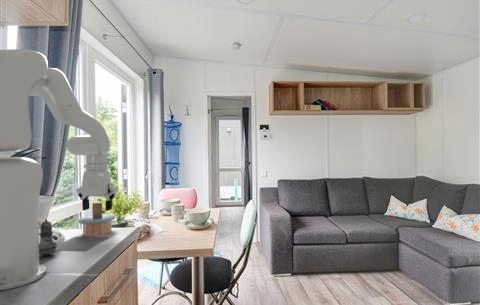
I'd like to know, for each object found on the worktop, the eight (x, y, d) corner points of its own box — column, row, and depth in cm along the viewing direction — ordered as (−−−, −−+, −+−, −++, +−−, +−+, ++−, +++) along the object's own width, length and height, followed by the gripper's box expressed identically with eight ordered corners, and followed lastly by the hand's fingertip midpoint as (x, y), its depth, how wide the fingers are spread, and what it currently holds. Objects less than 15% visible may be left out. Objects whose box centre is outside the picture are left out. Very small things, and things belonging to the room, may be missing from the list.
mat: (85, 252, 86) (84, 251, 86) (45, 251, 88) (45, 250, 88) (110, 238, 100) (110, 237, 100) (75, 237, 101) (75, 236, 101)
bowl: (101, 237, 102) (101, 223, 101) (77, 237, 102) (77, 222, 102) (116, 229, 111) (116, 216, 111) (93, 229, 112) (93, 216, 112)
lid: (102, 224, 100) (102, 206, 100) (70, 223, 101) (70, 206, 101) (121, 216, 113) (121, 200, 113) (92, 215, 114) (92, 199, 114)
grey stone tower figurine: (29, 259, 81) (29, 220, 81) (48, 252, 87) (48, 216, 87) (44, 261, 80) (43, 221, 79) (62, 254, 85) (61, 217, 85)
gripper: (70, 168, 104) (70, 211, 104) (111, 168, 102) (112, 212, 102) (83, 167, 111) (83, 207, 111) (122, 166, 110) (122, 208, 110)
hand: (97, 209), depth 107 cm, fingers open, 9 cm apart
